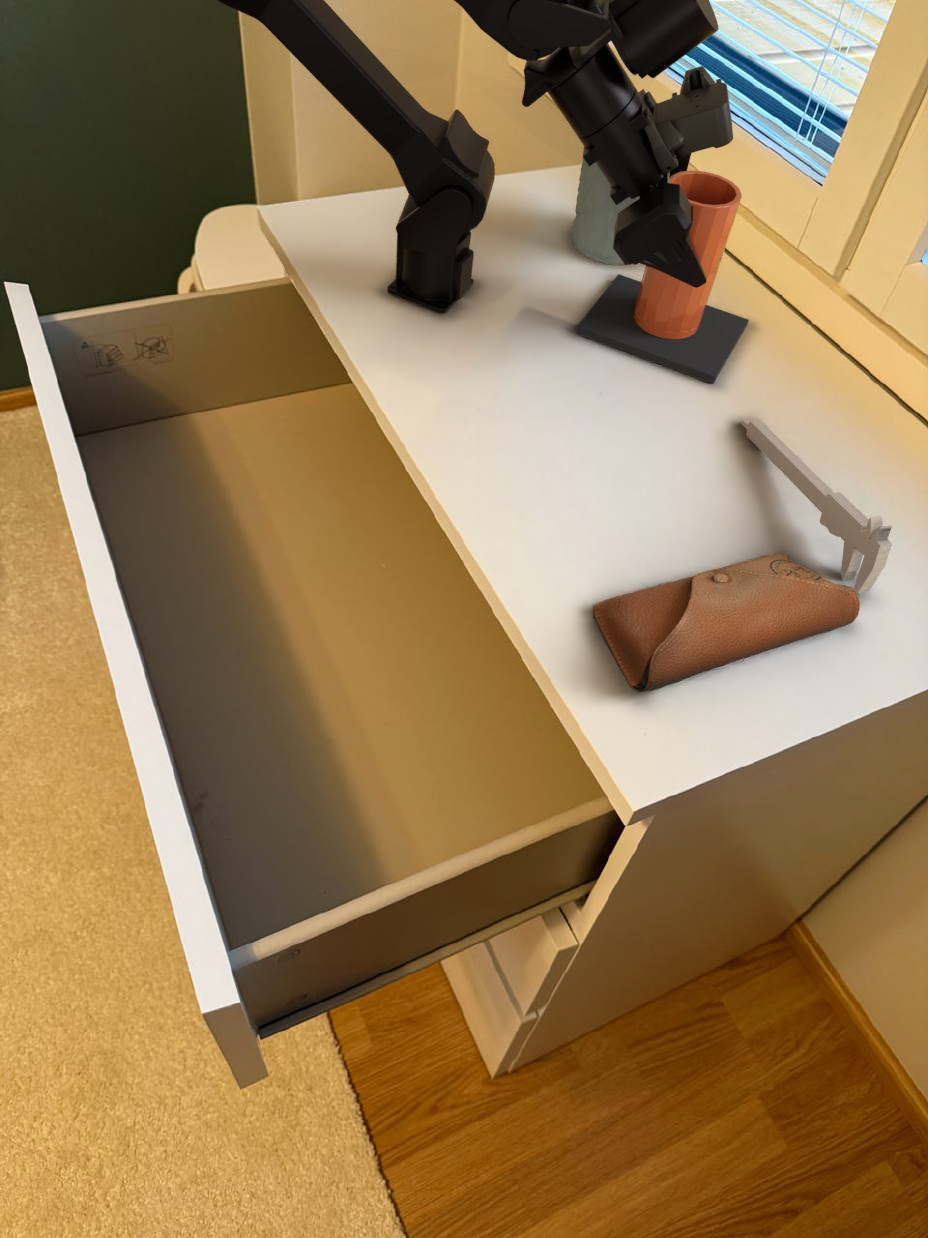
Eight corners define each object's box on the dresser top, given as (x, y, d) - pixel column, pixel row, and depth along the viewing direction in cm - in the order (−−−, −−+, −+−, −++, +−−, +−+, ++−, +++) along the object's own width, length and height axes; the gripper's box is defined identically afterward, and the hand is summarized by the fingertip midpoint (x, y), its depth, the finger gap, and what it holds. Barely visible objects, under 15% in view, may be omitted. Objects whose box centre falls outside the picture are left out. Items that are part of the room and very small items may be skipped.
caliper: (866, 596, 70) (903, 539, 66) (853, 598, 70) (890, 541, 65) (749, 423, 82) (773, 364, 77) (738, 424, 82) (762, 365, 77)
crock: (653, 343, 87) (691, 210, 77) (622, 305, 91) (654, 173, 81) (710, 333, 89) (755, 202, 79) (678, 297, 93) (717, 167, 83)
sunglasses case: (784, 545, 72) (840, 524, 66) (813, 631, 72) (873, 618, 65) (583, 606, 67) (624, 589, 60) (613, 700, 66) (658, 692, 60)
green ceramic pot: (560, 217, 102) (581, 102, 93) (650, 221, 103) (678, 108, 94) (573, 267, 96) (595, 149, 87) (667, 271, 97) (700, 156, 88)
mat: (575, 333, 89) (576, 325, 88) (616, 280, 95) (618, 273, 94) (713, 384, 85) (715, 376, 85) (746, 326, 92) (749, 319, 91)
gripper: (695, 96, 66) (793, 263, 74) (692, 4, 78) (777, 157, 86) (567, 188, 72) (670, 332, 81) (582, 90, 84) (671, 225, 92)
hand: (700, 257), depth 85 cm, fingers open, 9 cm apart
